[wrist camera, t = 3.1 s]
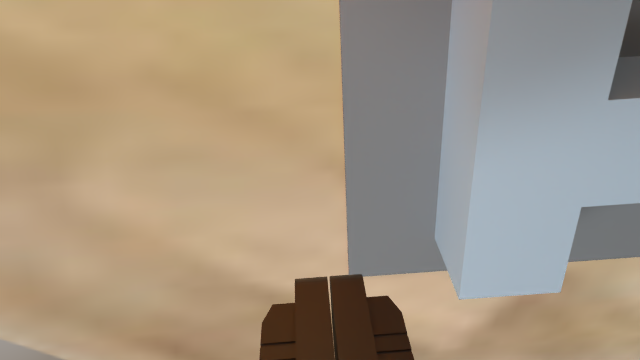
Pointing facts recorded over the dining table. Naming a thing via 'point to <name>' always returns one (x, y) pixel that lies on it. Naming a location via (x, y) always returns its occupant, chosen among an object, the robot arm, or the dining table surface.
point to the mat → (423, 140)
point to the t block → (532, 137)
